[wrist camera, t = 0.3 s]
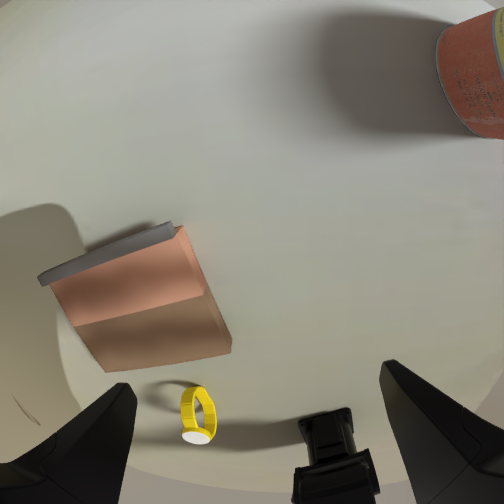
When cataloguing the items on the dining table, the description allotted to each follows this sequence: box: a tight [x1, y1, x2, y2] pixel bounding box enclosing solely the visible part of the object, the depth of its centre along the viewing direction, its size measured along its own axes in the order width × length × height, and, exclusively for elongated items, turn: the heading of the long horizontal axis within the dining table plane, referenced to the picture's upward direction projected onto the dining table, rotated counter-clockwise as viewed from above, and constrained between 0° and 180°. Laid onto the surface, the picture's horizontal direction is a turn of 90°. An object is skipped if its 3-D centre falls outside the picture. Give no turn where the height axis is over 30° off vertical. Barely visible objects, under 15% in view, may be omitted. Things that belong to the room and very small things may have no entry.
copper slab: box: [37, 221, 232, 373], centre depth 22 cm, size 12×14×3 cm
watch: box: [180, 386, 217, 444], centre depth 26 cm, size 6×3×6 cm, turn 17°
